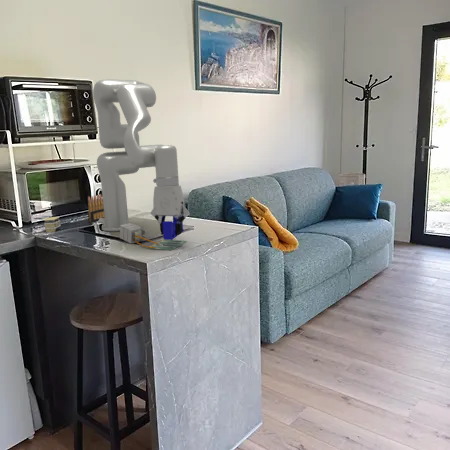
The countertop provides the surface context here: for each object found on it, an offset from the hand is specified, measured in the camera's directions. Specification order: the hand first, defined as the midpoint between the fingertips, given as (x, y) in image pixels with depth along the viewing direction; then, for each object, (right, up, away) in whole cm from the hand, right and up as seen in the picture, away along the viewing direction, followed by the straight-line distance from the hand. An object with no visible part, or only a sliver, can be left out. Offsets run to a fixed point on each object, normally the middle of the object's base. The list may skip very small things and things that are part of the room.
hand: (171, 233), depth 159 cm
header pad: (-2, -4, +2) cm, 5 cm away
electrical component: (-10, -4, +4) cm, 11 cm away
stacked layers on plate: (-54, 0, +33) cm, 63 cm away
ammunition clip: (-39, +5, +51) cm, 64 cm away
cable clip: (0, -1, 0) cm, 1 cm away
